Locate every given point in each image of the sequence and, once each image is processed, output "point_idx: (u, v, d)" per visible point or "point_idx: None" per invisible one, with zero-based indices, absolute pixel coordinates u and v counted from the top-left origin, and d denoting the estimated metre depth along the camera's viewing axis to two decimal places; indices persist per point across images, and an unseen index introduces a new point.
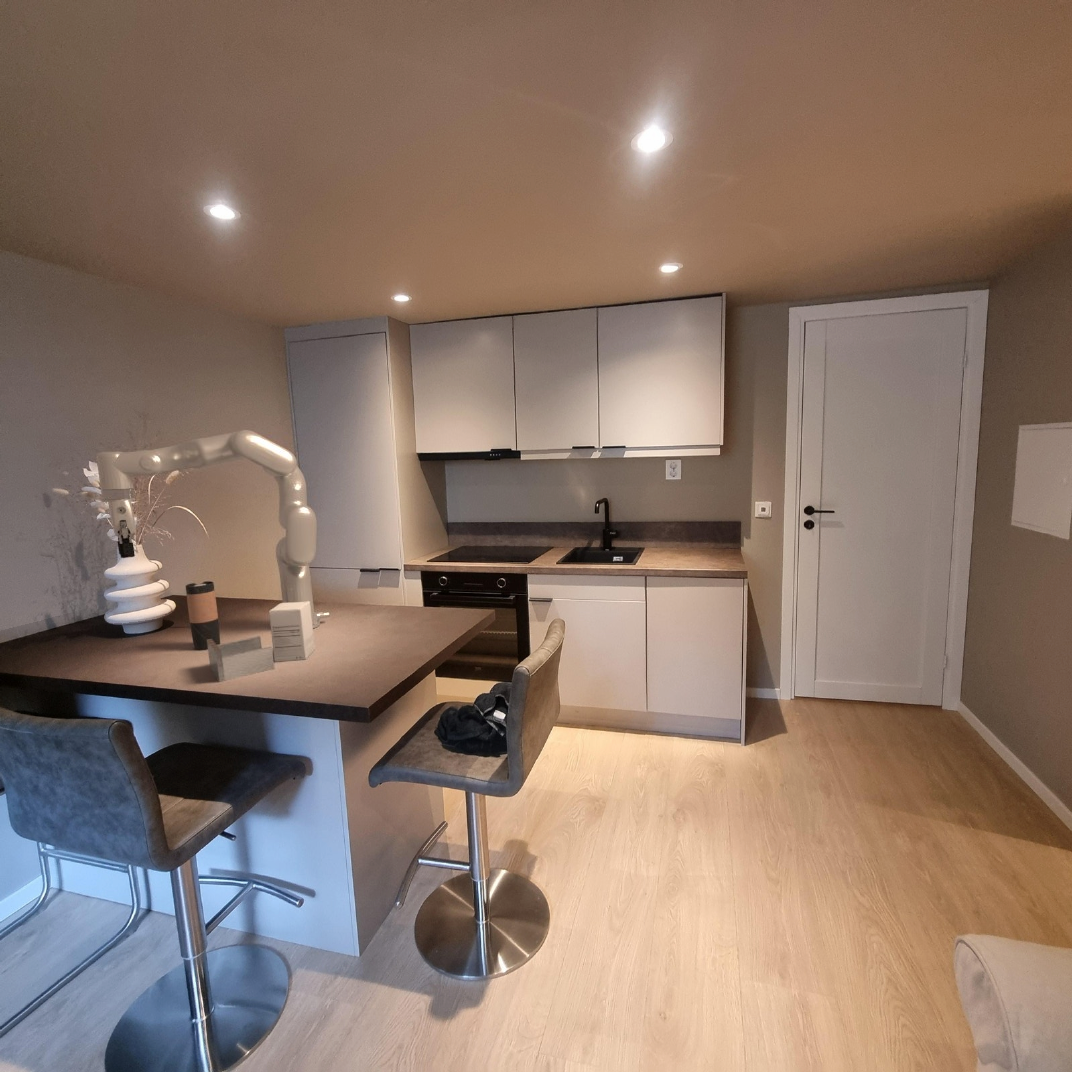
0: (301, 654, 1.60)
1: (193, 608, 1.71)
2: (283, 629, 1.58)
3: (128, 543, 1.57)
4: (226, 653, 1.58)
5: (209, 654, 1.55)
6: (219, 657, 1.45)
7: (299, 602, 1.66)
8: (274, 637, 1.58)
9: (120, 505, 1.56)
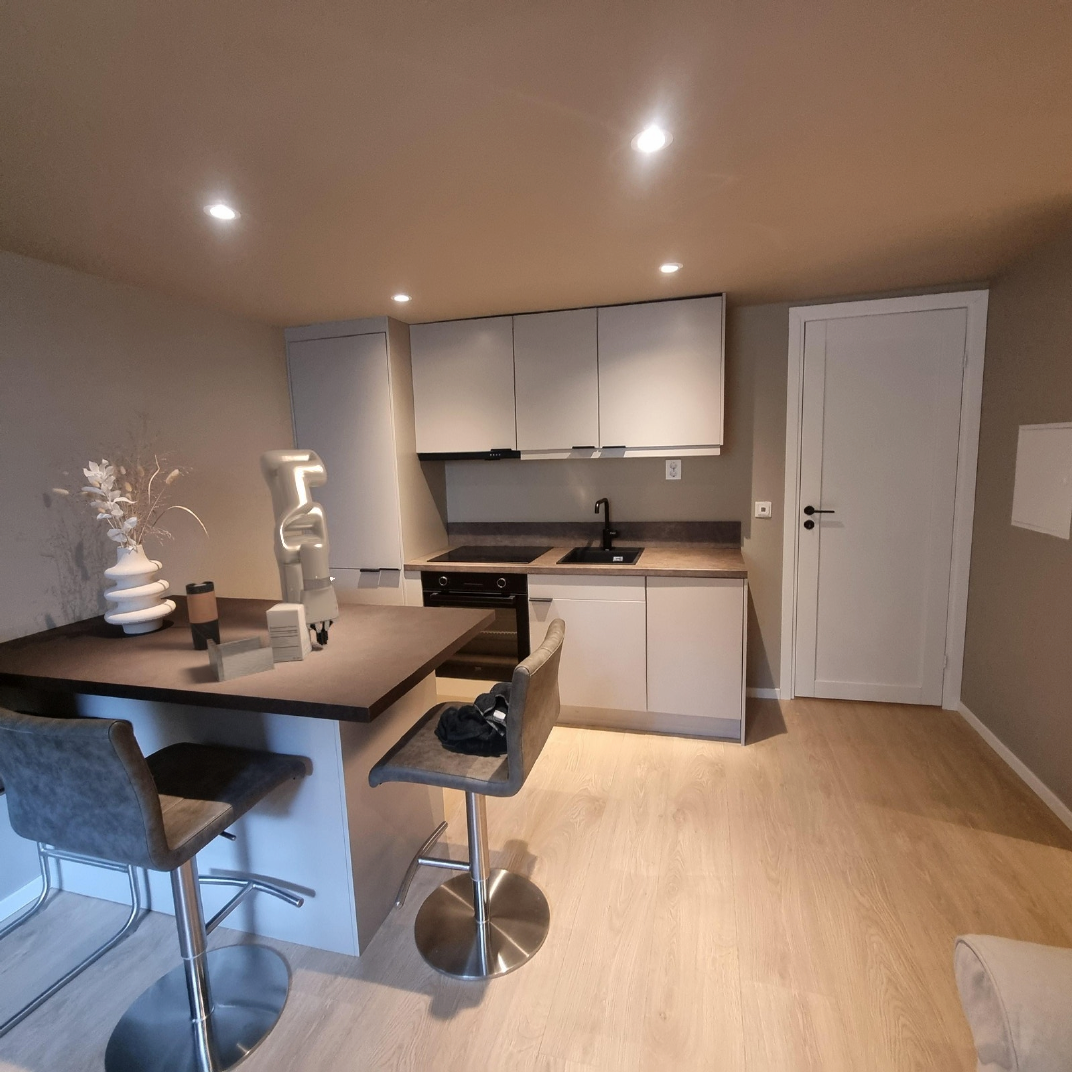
0: (298, 655, 1.59)
1: (193, 608, 1.71)
2: (280, 630, 1.58)
3: None
4: (226, 653, 1.58)
5: (209, 654, 1.55)
6: (219, 657, 1.45)
7: (296, 602, 1.65)
8: (271, 638, 1.58)
9: None
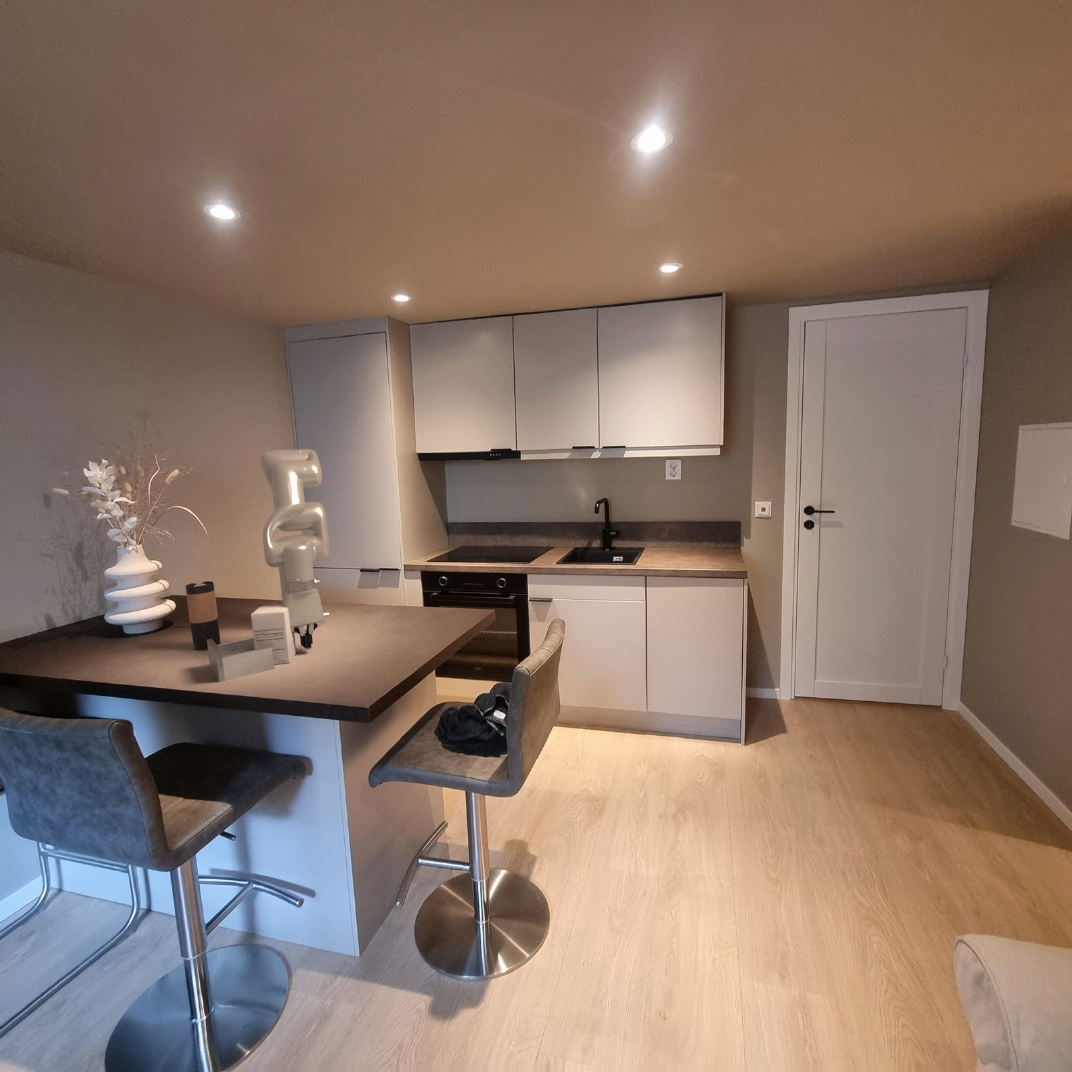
0: (284, 657, 1.57)
1: (193, 608, 1.71)
2: (266, 633, 1.55)
3: None
4: (226, 653, 1.58)
5: (209, 654, 1.55)
6: (219, 657, 1.45)
7: (280, 605, 1.63)
8: (256, 641, 1.55)
9: None
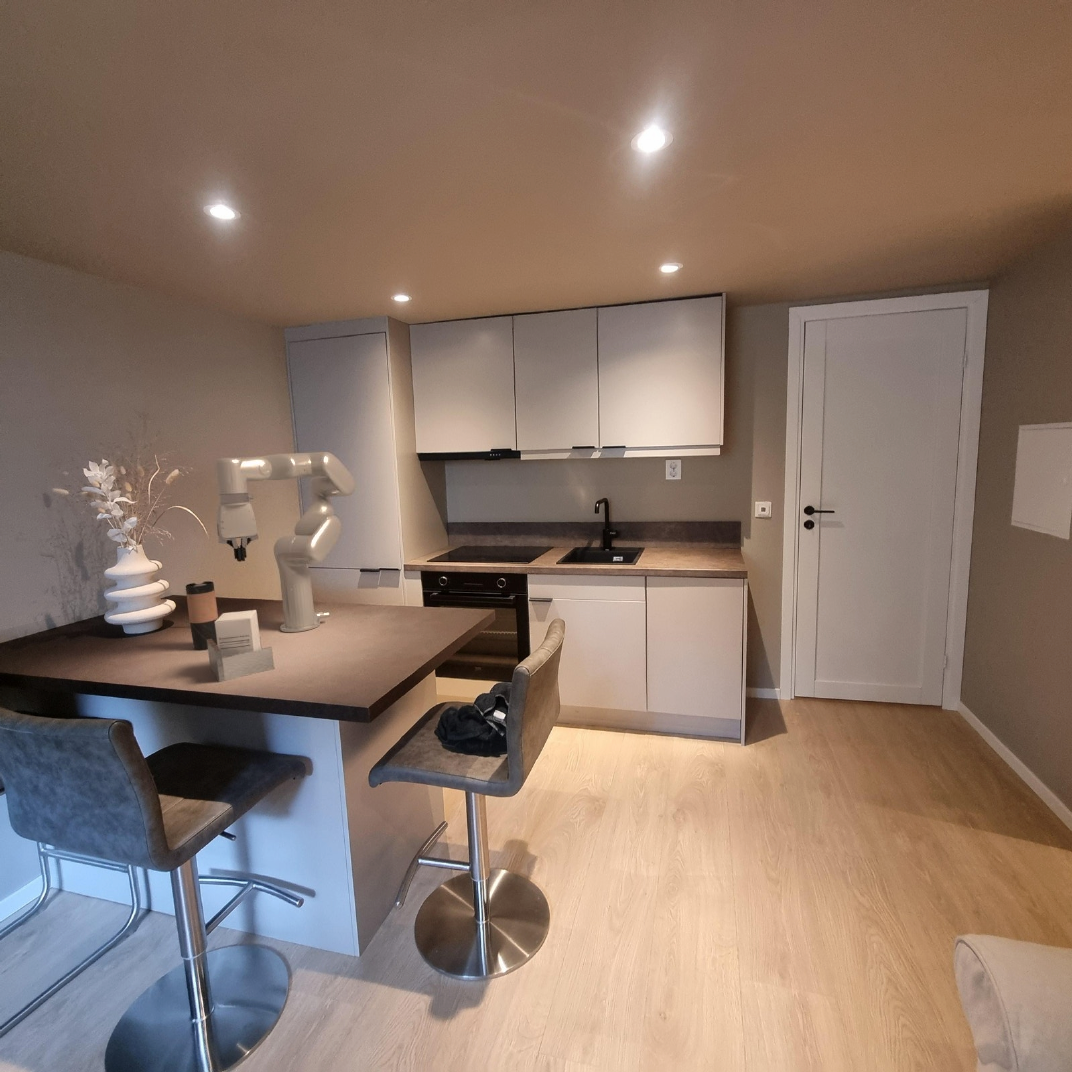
0: None
1: (193, 608, 1.71)
2: (231, 640, 1.50)
3: None
4: None
5: (209, 654, 1.55)
6: (219, 657, 1.45)
7: (245, 611, 1.58)
8: (221, 649, 1.50)
9: None
